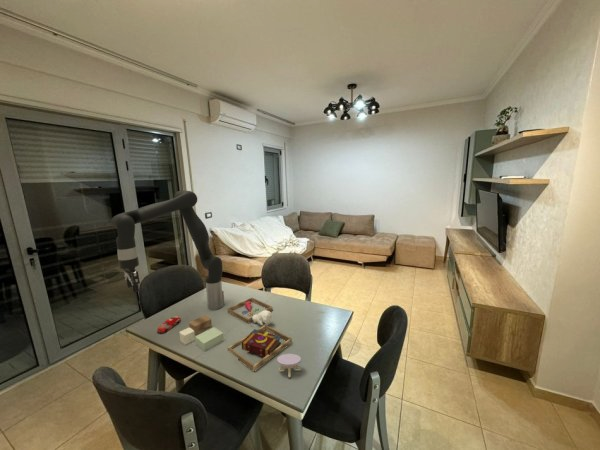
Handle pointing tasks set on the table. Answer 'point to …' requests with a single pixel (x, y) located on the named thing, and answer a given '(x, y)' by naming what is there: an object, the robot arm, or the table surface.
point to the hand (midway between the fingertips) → (133, 289)
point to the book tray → (266, 358)
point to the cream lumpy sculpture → (263, 317)
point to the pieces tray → (230, 310)
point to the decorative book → (261, 343)
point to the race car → (169, 324)
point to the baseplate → (211, 347)
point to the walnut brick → (200, 324)
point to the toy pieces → (248, 306)
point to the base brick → (209, 338)
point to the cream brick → (187, 335)
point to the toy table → (289, 362)
